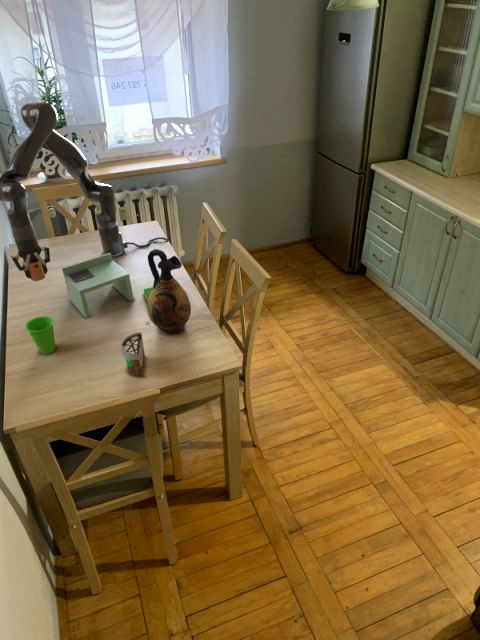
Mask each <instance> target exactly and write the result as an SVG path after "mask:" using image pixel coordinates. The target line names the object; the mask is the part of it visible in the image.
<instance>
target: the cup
mask: <svg viewBox="0 0 480 640" xmlns="http://www.w3.org/2000/svg"><path fill="white" fill-rule="evenodd" d="M54 322H55V321H54V319H53V318H52V317H51V316H48V315H47V316H46V315H41V316H37V317H34V318H32V319H30V320H29V321H27V322H26V323H25V326H24V329H25V330H26V331H27V332H28V334H29V335H30V337H31V339H32V340H33V342H34V344H35V346H36V347H37V350H38V351H39V352H40V353H41V354H43V355H48V354H51V353H53V352H54V351H55V350H56V339H55V338H56V337H55V330H54Z"/></svg>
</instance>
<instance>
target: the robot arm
mask: <svg viewBox="0 0 480 640" xmlns="http://www.w3.org/2000/svg"><path fill="white" fill-rule="evenodd" d="M20 115H21V119H22V121H23V123H24V124H25V126H26V127H27V128H28V130H30V133H29V135H28V136H27V137H26V138H25V139H24V140H23V141H22V142H21V143H20V145H19V146H18V147H17V148H16V150H15V151H14V153H13V154H12V157H11V160H10V162H9V164H8V167H7V168H6V169H5V171H3V173H2V174H1V175H0V202H5V203H12V206H13V207H10V208H9V209H7V211H6V216H7V219H8V222H9V226H10V229H11V233H12V237H13V239H14V242H15V246H16V248H17V254H15V255H11V256H10V259H11V260H12V261H13V263H14V265H15V266H16V268H17V269H18V271H19V272H22V271H23V273H24V275H25V277H26V278H27V279H29V280H31V276H30V273H29V270H28V265H29V262H31V261H33V260H40V262H41V263H42V266H43V270H44V273H45V275H46V274H48V271H49V269H48V267H47V264H48V263H50V262H51V254H50V251H51V250H50V248H49V247H48V246H47V245H44V246H40V244H39V240H38V237H37V233H36V230H35V228H34V226H33V223H32V220H31V216H30V214H29V197H28V196H29V195H28V191H27V188H26V187H25V185H24V184H22V183H21V182H25V181H27V180H28V179H29V177H30V175H31V173H32V170H33V167H34V165H35V163H36V160H37V158H38V156H39V154H40V152H41V150H42V149H43V147H44V145H45V147H46V148H47V149H48V150H49V151H50V153H51V154H52V155H53V156H54V157H55V158H56V159H57V161H58V162H59V163H60V165H61V167H63V168H64V169H65V171H67V173H68V174H69V175H70V177H71V178H72V179H73V180H74V181H75V182H76V183H77V185H78V187H79V188H80V189H81V191H82V192H83V194H84V195H85V197H86V198H87V199H88V201H89V202H90V203H92V204H94V205H98V206H100V210H99V211H97V212H96V213H95V215H94V216H95V222H96V226H97V231H98V235H99V240H100V245H101V249H102V255H105V254H108V253H111V256H112V258H115V257H116V258H117V257H119V256H121V255H122V254H124V253H125V252H126V251H125V249H127V248H129V246H128V245H132V246H135V247H137V248H146V247H148V246H150V243H151V242H153V241H157V240H164V241H167V242H170V239H169V238H167V237H161V236H160V237H159V236H158V237H154V238H152V239H149V240H148V241H147V243H146V244H143V245H140V244H137V243H135V242H128V241H126V240H125V239H123V234H122V233H121V232H120V227H119V222H118V217H117V216H118V215H117V212H118V207H117V200H116V193H115V190H114V188H113V186H112V185H109V184H106V183H105V184H104V183H100V182H97V181H96V180H95V179H94V178H93V176H92V175H91V174H90V172H89V166H88V165H89V164H88V161H87V158H86V157H85V155H84V154H83V153H82V151H81V150H80V149H79V147H77V145H75V144H74V143H73V142H72V141H70V140H69V139H67V138H66V137H64V136H62V135H61V134H59V133H58V132H57V131H56V130H55V128H56V126H57V123H58V121H59V120H58V119H59V118H58V117H59V116H58V113H57V109H56V108H55V106H53V104H51V103H49V102H29V103H25V104H23V106H22V107H21V110H20ZM42 252H43V253H44V259H43V258H42V257H41V254H42ZM20 258H21V259H22V265H21V264H20V262H19V261H20Z"/></svg>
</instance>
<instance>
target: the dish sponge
mask: <svg viewBox="0 0 480 640" xmlns="http://www.w3.org/2000/svg"><path fill="white" fill-rule="evenodd" d="M152 290H153V286H152V287H151V286H150V287H147V288H144V289H143V295H144V297H145V299H146V302H148V300H149V296H150V294H151V292H152Z"/></svg>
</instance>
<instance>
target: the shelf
mask: <svg viewBox="0 0 480 640" xmlns="http://www.w3.org/2000/svg"><path fill="white" fill-rule="evenodd" d="M61 271H62V274H63V279H64V282H65V286H66V289H67V293H68V296H69V300H70V302H71V303H72V304H73V305H74V306H75V308H76V309H77V310H78V312H80V313H81V315H83V316H84V318H85V319H88V318H90V317H91V314H90V310H89V307H88V301H87V298H86V295H85V294H87V293H89V292H92V291H95V290H98V289H101V288H104V287H107V286H110V285H112V286H113V288H115V289H116V290H117V292H119V293H120V294H121V295H122V296H123V297H125V298H126V299H127V300H128V301H129V302H132V301H133V302H134V301H135V299H134V294H133V288H132V282H131V277H130V273H128V271H126V270H125V269H124V268H123V267H121V266H120V265H119V264H117V262H115V261H114V260H113V257H112V256H111V253H108V254H105V255H103V254H101V255H99V256H96V257H92V258H89V259H86V260H82V261H79V262H76V263H73V264H71V265H67V266H63V267H61Z"/></svg>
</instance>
